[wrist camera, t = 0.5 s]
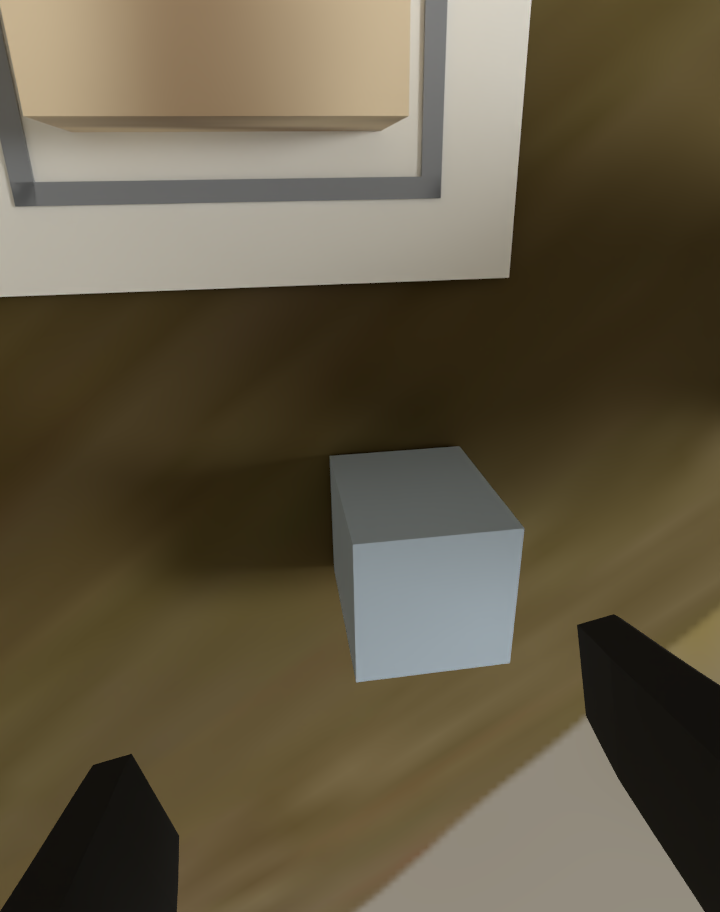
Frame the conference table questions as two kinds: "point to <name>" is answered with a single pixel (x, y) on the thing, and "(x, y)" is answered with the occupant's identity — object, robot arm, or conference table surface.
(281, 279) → the white square board
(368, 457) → the grey rectangular block
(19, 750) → the conference table surface
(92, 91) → the maple slab
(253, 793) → the conference table surface
